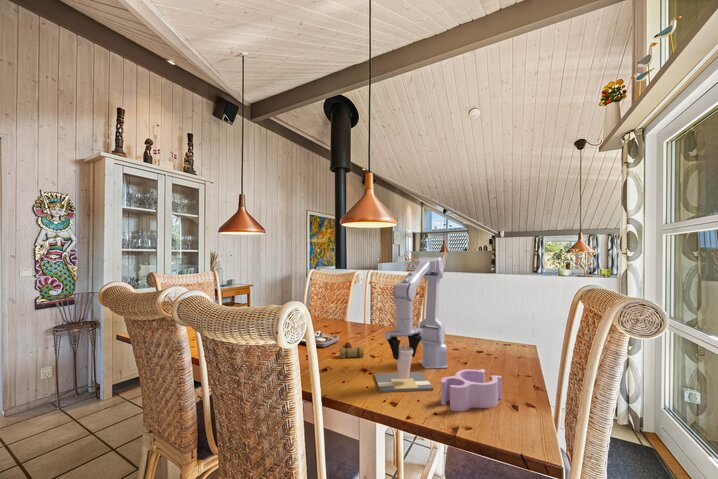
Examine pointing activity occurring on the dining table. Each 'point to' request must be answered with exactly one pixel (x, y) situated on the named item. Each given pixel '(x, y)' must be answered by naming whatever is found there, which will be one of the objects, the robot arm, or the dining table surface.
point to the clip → (470, 390)
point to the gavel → (351, 351)
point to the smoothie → (404, 361)
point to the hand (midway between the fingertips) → (404, 357)
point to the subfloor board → (402, 382)
